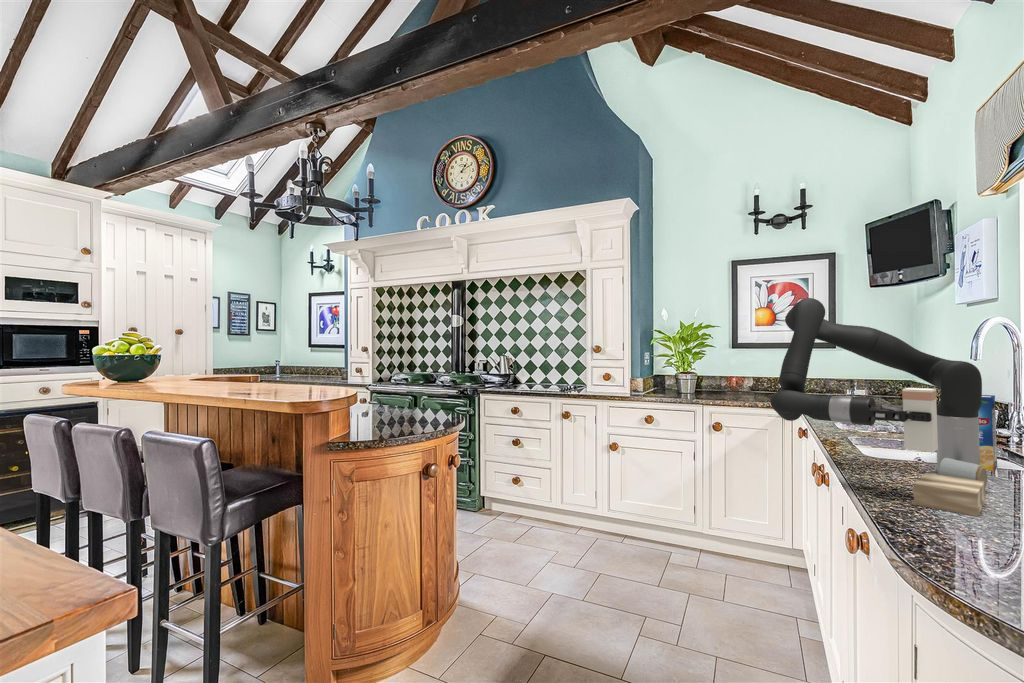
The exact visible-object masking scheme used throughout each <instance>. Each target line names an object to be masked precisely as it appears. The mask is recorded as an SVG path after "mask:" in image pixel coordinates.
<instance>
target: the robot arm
mask: <svg viewBox="0 0 1024 683" xmlns="http://www.w3.org/2000/svg"><path fill="white" fill-rule="evenodd" d="M825 316H826V309H825V306H824V304H823V303H822V302H821V301H820V300H818V299H817V298H813V297H807V298H802V299H800V300H799V301H797V302H796V303H795V304H794V305H793V306H792V307H791V309H790V310H788V312H787V313H786V315H785V317H784V318H785V319H784V322H785V324H786V326H787V327H788V328H789V329H790V330H791V331H793V335H792V337H791V340H790V343H789V346H788V348H787V350H786V353H785V355H784V358H783V360H782V364H781V369H780V373H779V378H778V382H779V385H780V388H781V390H779V391H776V392H774V393H773V394H772V395H771V397H770V398H769V399H770V400H769V402H770V407H772V409H773V410H774V411H775V412H776V413H777V415H778V416H779V417H780V418H782V419H784V420H786V421H789V422H793V421H796V420H798V419H799V418H801V417H802V415H805V416H807V417H809V419H813V420H817V421H825V422H833V423H834V422H835V423H840V424H848V425H849V424H850V425H860V426H869V427H870V426H871V427H872V426H873V425H875V423H876V421H882V422H902V423H904V422H906V421H924V422H930V421H931V420H932V419H931V413H929V412H914V411H911V412H910V411H909V410H906V411H905V410H903V405H894V404H893V405H892V404H888V403H887V404H886V403H884V404H880V405H879V406H877V405H876V400H875V399H874V398H873V397H871V396H869V397H868V396H850V395H849V396H848V395H837V396H836V395H833V396H832V395H815V394H810V393H807V392H806V389H805V385H806V381H807V377H808V372H809V366H810V362H811V357H812V353H813V349H814V346H815V342H816V340H819V341H822V342H825V343H828V344H830V345H833V346H835V347H838V348H839V349H843V350H846V351H848V352H851V353H853V354H855V355H857V356H860V357H862V358H865V359H866V360H870V361H872V362H875V363H878V364H880V365H883V366H886V367H889V368H892V369H895V370H899V371H903V372H905V373H907V374H911V375H912V376H915V377H917V378H919V379H920V380H923V381H924V382H927V383H928V384H929V385H932V386H934V387H935V388H936V389H940V398H939V401H938V403H936V407H937V435H938V449H937V450H936V472H937V473H939V466H940V462H941V461H942V459H944V458H949V459H954V460H959V461H963V462H968V463H973V464H977V465H980V445H979V420H978V412H979V409H980V407H981V403H982V395H983V378H982V375H981V371H980V370H979V368H978V367H977V366H976V365H975V364H973V363H971V362H968V361H963V360H953V359H952V360H950V359H945V358H943V357H939V356H935V355H932V354H929V353H925V352H923V351H920V350H918V349H917V348H915V347H913V346H912V345H910V344H909V343H908V342H905V341H903V340H902V339H900V338H899V337H896V336H894V335H892V334H890V333H888V332H885V331H882V330H879V329H876V328H873V327H870V326H865V325H863V326H862V325H854V324H853V325H851V324H841V323H836V322H832V321H831V320H828V319H825Z"/></svg>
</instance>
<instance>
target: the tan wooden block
mask: <svg viewBox="0 0 1024 683" xmlns="http://www.w3.org/2000/svg"><path fill="white" fill-rule="evenodd" d="M912 486H913V505H915V506H920V507H925V508H931V509H936V510H941V511H948V512H952V513H958V514H963V515H967V516H968V515H969V516H974V517H979V515H980V513H981V511H982V509H983V508H984V506H985V504H986V503H987V502H986V487H985V481H978V480H971V479H964V478H957V477H950V476H943V475H938V474H935V473H927V472H925V473H924V474H922V475H921V476H920V477H919V478H918V479H917V480H915V481H914V483H913V485H912Z"/></svg>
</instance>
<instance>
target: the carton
mask: <svg viewBox="0 0 1024 683" xmlns="http://www.w3.org/2000/svg"><path fill="white" fill-rule="evenodd" d="M901 391H902V392H901V393H902V395H901V396H902V397H901V398H902V406H903V410H905V411H906V410H909V411H910V412H911V411H914V412H929V413H931V419H932V420H931V421H930V422H924V421H906V422H903V444H904V446H903V447H904V448H903V449H904V450H908V451H918V452H926V453H935V452H937V449H938V435H937V407H936V405H937V388H921V387H906V388H903V389H902V390H901Z"/></svg>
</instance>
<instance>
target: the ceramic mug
mask: <svg viewBox="0 0 1024 683" xmlns="http://www.w3.org/2000/svg"><path fill="white" fill-rule="evenodd" d="M937 473H938V472H937ZM937 475H943V476H950V477H957V478H964V479H971V480H978V481H985V488H986V487H987V483H988V472H987V470H986V469H985V468H984V467H983V466H980V465H977V464H973V463H968V462H963V461H959V460H954V459H949V458H944V459H942V461H941V462H940V466H939V473H938V474H937Z"/></svg>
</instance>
